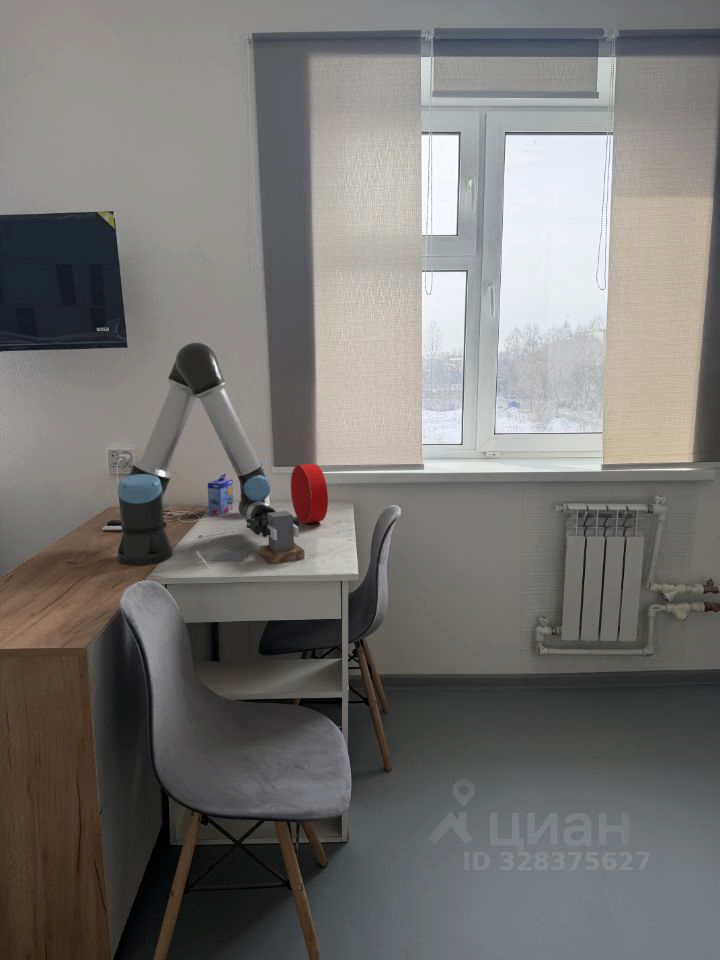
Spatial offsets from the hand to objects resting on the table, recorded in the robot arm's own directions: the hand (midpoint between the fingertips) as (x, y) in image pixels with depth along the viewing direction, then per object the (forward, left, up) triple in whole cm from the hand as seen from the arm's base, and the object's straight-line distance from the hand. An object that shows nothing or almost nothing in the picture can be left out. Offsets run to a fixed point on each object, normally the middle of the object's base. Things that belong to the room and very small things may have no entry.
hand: (286, 533), depth 182 cm
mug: (-23, +56, -9) cm, 61 cm away
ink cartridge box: (-37, +59, -9) cm, 70 cm away
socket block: (-3, +4, -9) cm, 10 cm away
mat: (-18, +4, -9) cm, 20 cm away
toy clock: (-2, +46, -9) cm, 47 cm away
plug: (-3, +4, -8) cm, 9 cm away
